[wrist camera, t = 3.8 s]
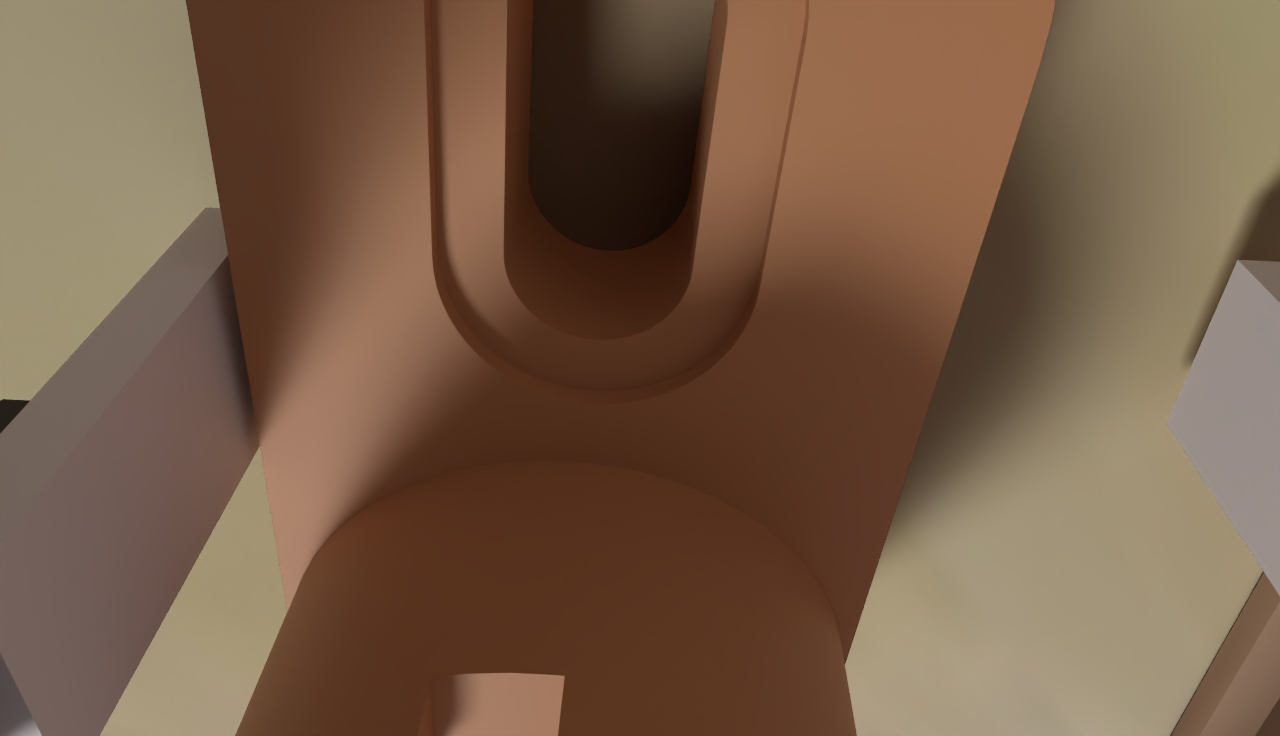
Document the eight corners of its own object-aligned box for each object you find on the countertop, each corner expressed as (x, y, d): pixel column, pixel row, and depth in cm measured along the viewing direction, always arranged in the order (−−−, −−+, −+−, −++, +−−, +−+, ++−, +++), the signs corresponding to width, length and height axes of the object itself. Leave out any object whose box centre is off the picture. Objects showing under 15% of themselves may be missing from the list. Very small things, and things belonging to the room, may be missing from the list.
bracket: (775, 706, 20) (814, 1118, 14) (360, 670, 20) (230, 1075, 14) (1091, -451, 10) (1702, -649, 4) (227, -552, 9) (-479, -923, 4)
